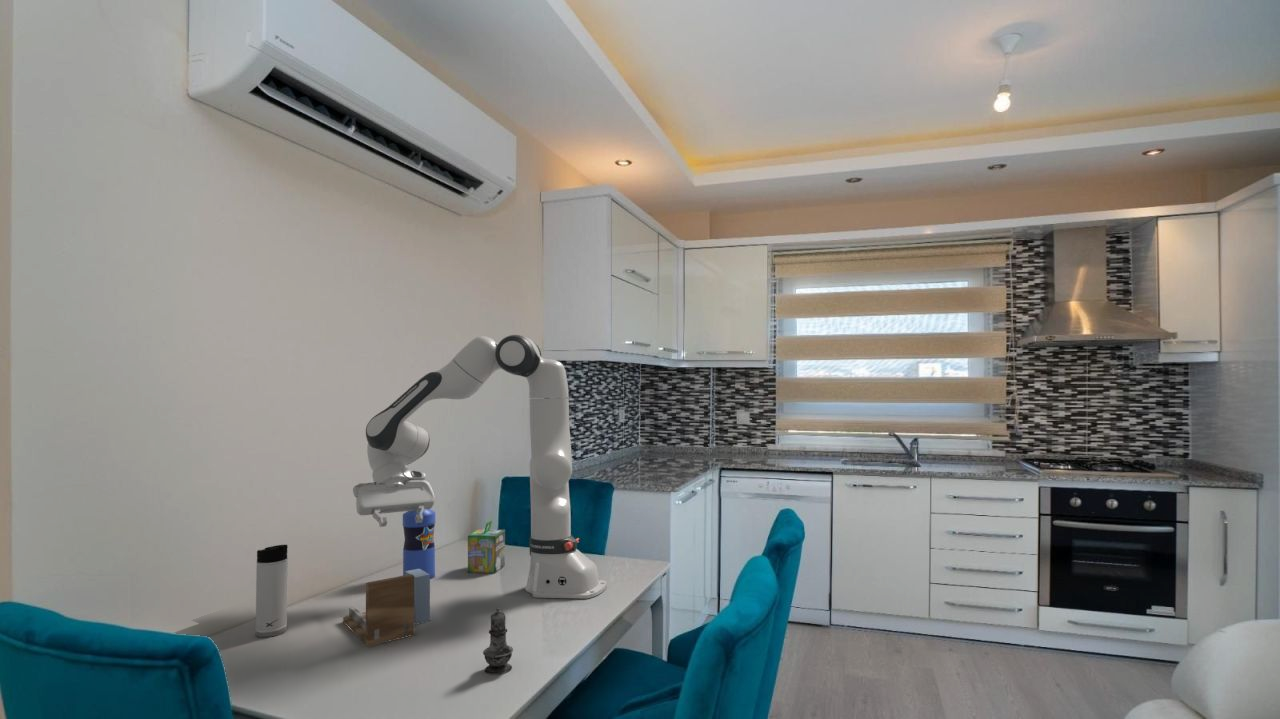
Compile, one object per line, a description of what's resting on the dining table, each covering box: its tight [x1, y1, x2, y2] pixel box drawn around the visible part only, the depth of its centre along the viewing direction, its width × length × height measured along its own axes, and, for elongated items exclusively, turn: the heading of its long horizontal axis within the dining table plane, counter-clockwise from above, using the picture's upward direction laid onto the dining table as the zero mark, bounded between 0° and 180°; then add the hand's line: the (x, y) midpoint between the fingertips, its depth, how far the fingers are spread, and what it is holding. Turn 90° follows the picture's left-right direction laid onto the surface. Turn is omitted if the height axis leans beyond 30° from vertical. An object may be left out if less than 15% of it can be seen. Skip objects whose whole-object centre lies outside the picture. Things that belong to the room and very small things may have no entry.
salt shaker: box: [482, 607, 514, 676], centre depth 127 cm, size 6×6×12 cm
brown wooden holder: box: [342, 574, 415, 647], centre depth 150 cm, size 20×10×13 cm, turn 39°
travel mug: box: [255, 544, 289, 638], centre depth 149 cm, size 6×7×20 cm
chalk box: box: [467, 519, 506, 574], centre depth 200 cm, size 9×9×15 cm
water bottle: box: [402, 509, 436, 580], centre depth 192 cm, size 9×9×25 cm
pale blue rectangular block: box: [405, 569, 431, 625], centre depth 157 cm, size 7×4×11 cm, turn 39°
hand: (402, 523), depth 169 cm, fingers open, 8 cm apart
